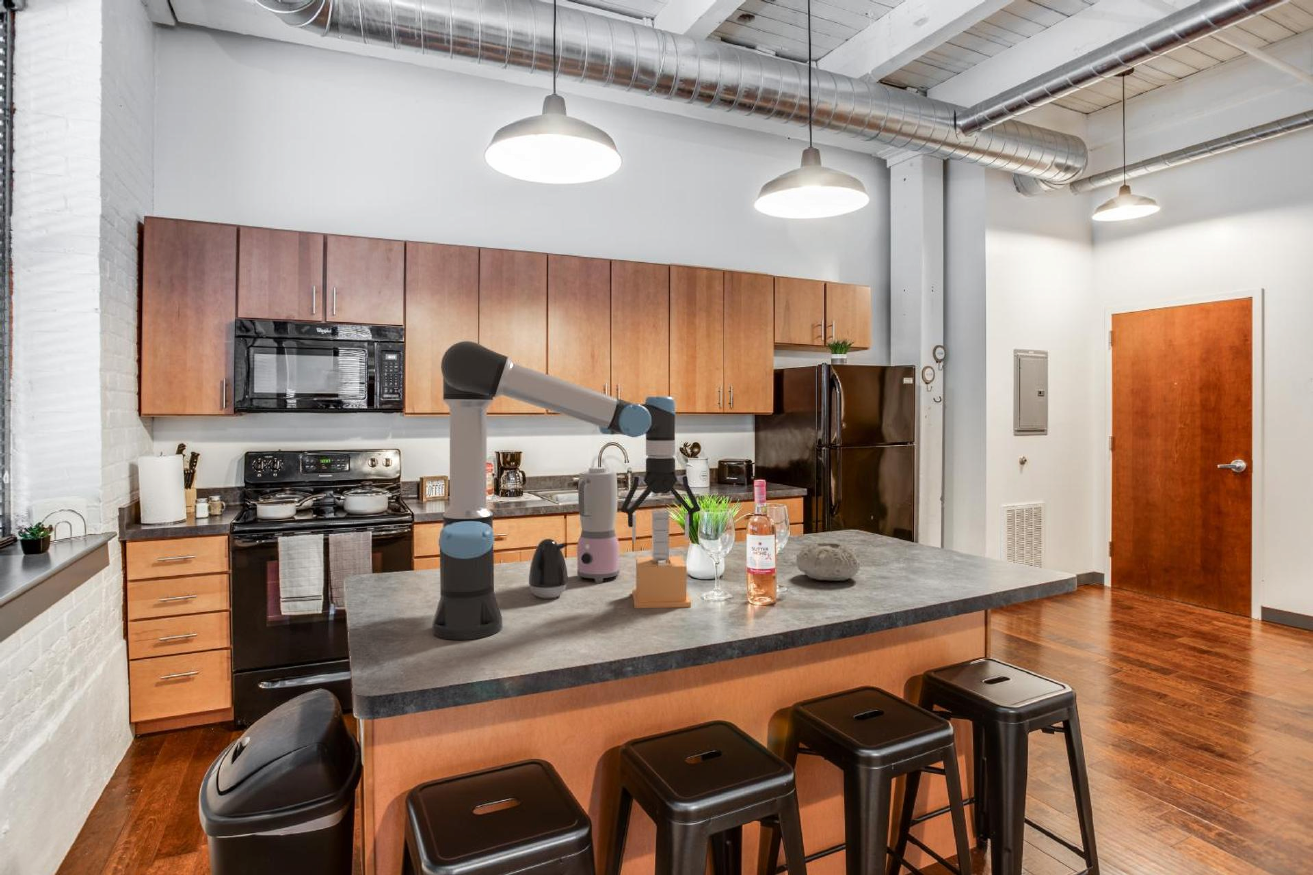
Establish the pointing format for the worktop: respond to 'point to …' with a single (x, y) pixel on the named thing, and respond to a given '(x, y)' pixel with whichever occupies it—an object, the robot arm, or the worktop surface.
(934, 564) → the worktop surface
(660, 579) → the housing
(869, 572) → the worktop surface
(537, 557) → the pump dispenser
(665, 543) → the column
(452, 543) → the robot arm
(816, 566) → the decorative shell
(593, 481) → the blender
